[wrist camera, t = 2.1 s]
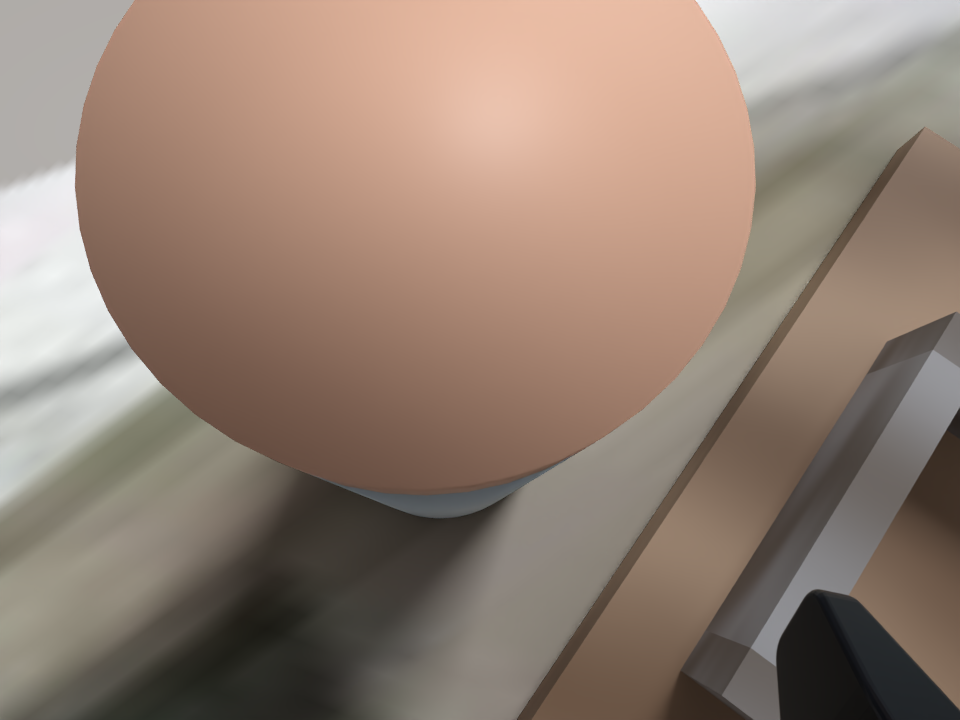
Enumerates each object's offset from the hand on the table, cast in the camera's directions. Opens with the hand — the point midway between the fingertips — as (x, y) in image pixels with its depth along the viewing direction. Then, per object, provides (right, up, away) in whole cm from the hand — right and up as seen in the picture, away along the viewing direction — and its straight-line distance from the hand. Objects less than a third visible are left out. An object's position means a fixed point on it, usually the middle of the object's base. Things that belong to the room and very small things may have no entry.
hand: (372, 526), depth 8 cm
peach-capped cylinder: (0, 0, +10) cm, 10 cm away
